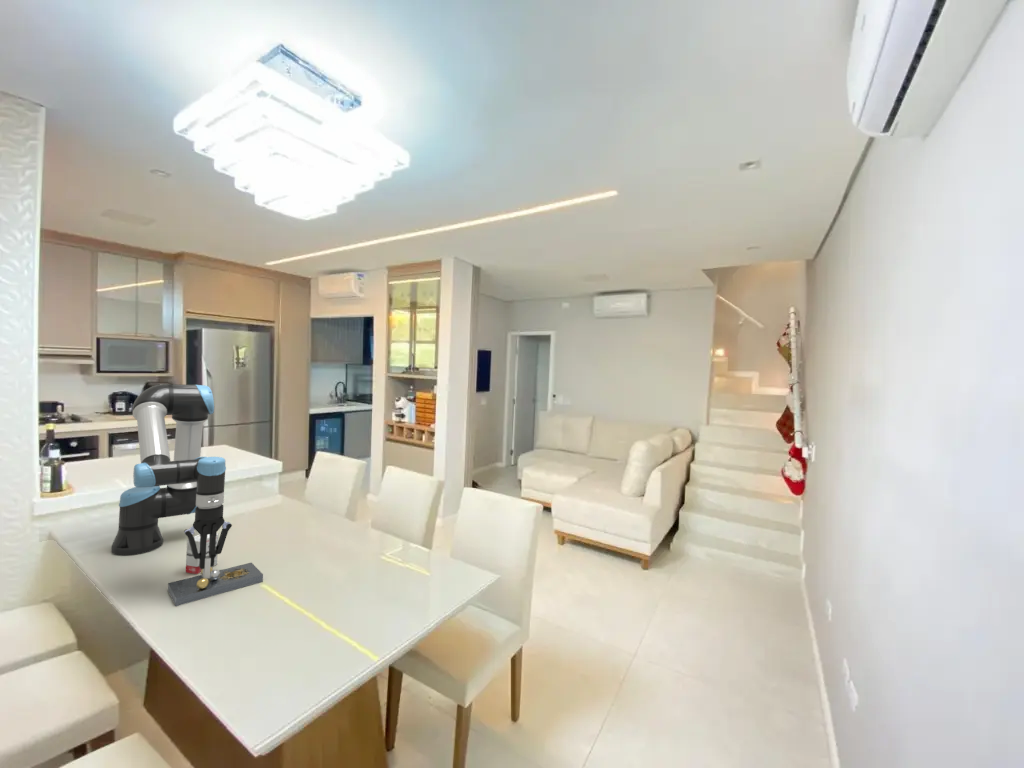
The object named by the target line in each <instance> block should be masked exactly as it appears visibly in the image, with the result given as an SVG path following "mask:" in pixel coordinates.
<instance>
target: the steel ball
mask: <svg viewBox="0 0 1024 768" xmlns="http://www.w3.org/2000/svg"><path fill="white" fill-rule="evenodd" d="M219 576H220V571H219V570H218V569H213V570H212V571H211V572H210V578H209V579H210V580H216V579H218V578H219Z"/></svg>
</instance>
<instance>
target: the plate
mask: <svg viewBox="0 0 1024 768" xmlns="http://www.w3.org/2000/svg"><path fill="white" fill-rule="evenodd" d="M219 571H220V576H219V578H218V579H216V580H210V579H209V578H208V581H209V584H208V586H207V587H206V588H204V589H199V588H197V586H196V584H197V582H198V580H200V579H201V578H203V576H202V574H200V575H196V576H193V577H187V578H185V579H184V578H183V579H180V580H179V579H178V580H175V581H171V582H168V584H167V592H168V594H169V596H170V598H171V600H172V602H173V603H174V606H175V607H178V606H181V605H185V604H188V603H192V602H196V601H199V600H202V599H206V598H210V597H213V596H217V595H220V594H224V593H228V592H232V591H234V590H238V589H242V588H245V587H249V586H251V585H256V584H260V583H263V581H264V573H263V572H261V570H260V569H258V567H257V566H256V565H254V563H253V562H252V561H251V562H248V563H244V564H241V565H236V566H233V567H232V566H231V567H227V568H224V569H220V570H219Z"/></svg>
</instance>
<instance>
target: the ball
mask: <svg viewBox="0 0 1024 768" xmlns="http://www.w3.org/2000/svg"><path fill="white" fill-rule="evenodd" d="M208 584H209V581H208V579H206V578H201V579H200V580H198V582H197V584H196V586H197V588H199V589H204V588H206V587H207V586H208Z"/></svg>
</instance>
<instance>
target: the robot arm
mask: <svg viewBox="0 0 1024 768" xmlns="http://www.w3.org/2000/svg"><path fill="white" fill-rule="evenodd" d="M213 395H214V394H213V391H212V389H211V387H209V386H208V385H203V384H168V383H163V384H162V383H161V384H157V385H153V386H150V387H149V388H147V389H145V390H144V391H142V392H141V393H140V394H139V395H138V396H137V397H136V398H135V400H134V402H133V405H132V416H133V418H134V419H135V420H136V421H137V422H136V424H137V435H138V436H137V437H138V446H139V447H138V448H139V456H140V458H139V459H140V463H136V464H135V465H134V467H133V475H132V476H133V477H132V479H133V485H134V487H132V488H131V487H130V488H128V489H127V490H124V491H123V492H122V493H121V494H120V498H119V503H118V507H119V512H118V513H119V516H118V531H117V533H116V536H115V537H114V540H113V542H112V544H111V551H110V552H111V554H113V555H115V556H132V555H133V556H134V555H141V554H145V553H149V552H151V551H154V550H157V549H159V548H161V547H162V546H163V543H164V536H163V535H162V531H161V530H160V527H159V519H163V518H169V517H177V516H184V515H191V514H194V521H193V524H192V526H191V527H189V528H188V529H184V531H183V532H184V535H186V537H187V540H189V543H190V547H191V551H192V554H193V557H194V558H195V559H200V561H199V567H200V569H203V575H202V574H201V575H202V576H203V578H206V579H208V578H210V567H212V566H213V567H215V566H214V558H215V556H216V555H217V556H218V555H221V553H222V551H223V549H224V545H225V542H226V539H227V536H228V533H229V531H230V529H232V526H233V525H232V523H231V522H229V521H226V520H225V519H224V502H225V501H224V500H225V499H224V498H225V484H226V483H225V481H226V470H227V466H226V459H225V458H224V457H220V456H201V453H202V441H203V427H204V423H205V422H206V421H208V419H209V415H213V414H214V412H215V401H214V400H215V399H214V396H213ZM169 415H171V420H173V421H174V422H175V423H176V426H175V436H174V452H173V460H171V455H170V447H169V441H168V434H167V427H166V421H165V417H166V416H169ZM162 486H166V487H162ZM220 528H222V529H221V531H220V534H219V536H218V543H217V546H216V549H215V545H216V534H217V532H218V531H219V530H220ZM195 531H196V532H197V533H198V535H200V553H199V554H198V551H197V547H196V543H195V539H194V535H195ZM208 534H210V539H209V556H206V541H207V535H208ZM213 567H212V568H213Z"/></svg>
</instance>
